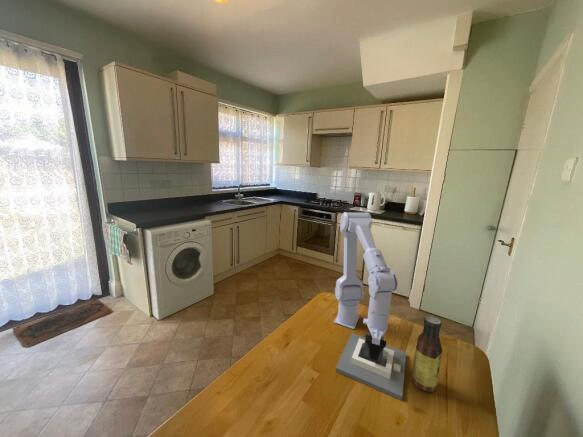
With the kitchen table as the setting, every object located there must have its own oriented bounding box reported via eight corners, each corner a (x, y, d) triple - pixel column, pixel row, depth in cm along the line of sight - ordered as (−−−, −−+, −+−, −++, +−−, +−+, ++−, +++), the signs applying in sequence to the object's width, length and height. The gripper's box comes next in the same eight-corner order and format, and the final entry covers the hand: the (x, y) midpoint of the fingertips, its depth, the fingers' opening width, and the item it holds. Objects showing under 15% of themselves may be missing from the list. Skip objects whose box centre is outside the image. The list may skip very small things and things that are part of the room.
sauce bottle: (440, 395, 63) (452, 330, 60) (415, 390, 65) (425, 326, 61) (431, 375, 70) (441, 315, 66) (408, 371, 71) (417, 311, 67)
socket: (351, 336, 86) (352, 328, 85) (405, 355, 77) (407, 346, 77) (335, 371, 70) (336, 361, 69) (401, 400, 62) (403, 390, 61)
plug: (363, 351, 77) (365, 332, 75) (381, 357, 75) (383, 337, 73) (362, 361, 72) (364, 341, 71) (381, 367, 71) (383, 346, 69)
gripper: (366, 295, 78) (362, 332, 81) (362, 320, 65) (358, 362, 68) (389, 300, 76) (384, 337, 78) (390, 326, 62) (384, 370, 65)
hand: (374, 349), depth 73 cm, fingers open, 7 cm apart
